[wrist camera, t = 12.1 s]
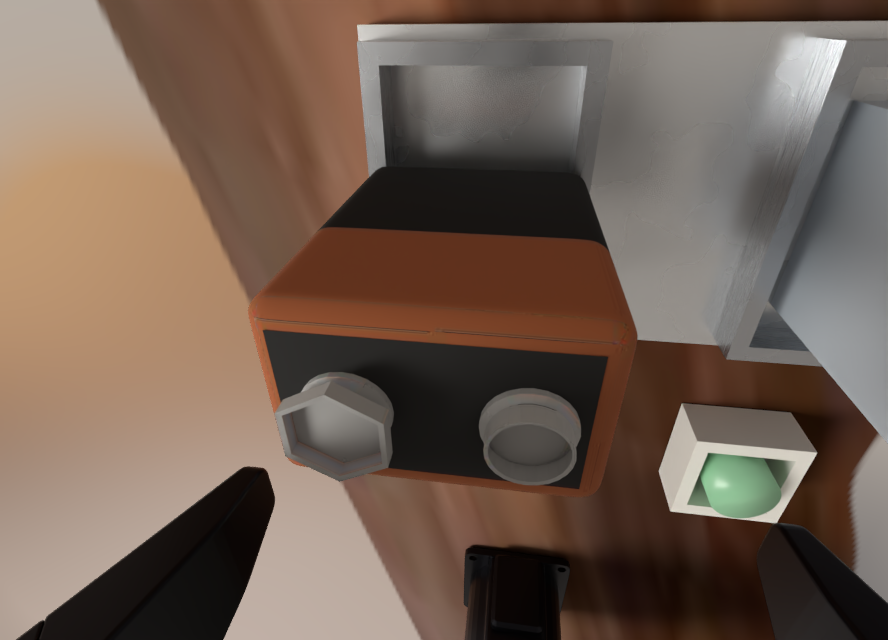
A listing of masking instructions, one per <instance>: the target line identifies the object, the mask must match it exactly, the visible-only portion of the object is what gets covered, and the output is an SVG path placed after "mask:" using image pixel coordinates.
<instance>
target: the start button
mask: <svg viewBox="0 0 888 640" xmlns="http://www.w3.org/2000/svg"><path fill="white" fill-rule="evenodd" d="M699 476H700V478H701V481H702V484H703V486H704V489H705V492H706V494H707V497H708V500H709V502H710V505H711V507H712V508H713V509H714V510H715V511H716V512H718V513H719V514H722V515H724V516H727V517H732V518H750V517H756V516H759V515H762V514H765V513H767V512H769V511H770V510H772V509H773V508H774V507H776V505H777V504H778V503H779V502H780V499H781V490H780V487H779V486H778V484H777V482H776V480H775V478H774V476H773V474H772V473H771V471H770V469H769V467H768V465H767V463H766V461H765V459H764V458H758V457H748V456H738V455H728V454H717V453H708V454H707V457H706V459H705V462H704V464H703V466H702V469H701V471H700V474H699Z"/></svg>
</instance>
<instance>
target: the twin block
mask: <svg viewBox="0 0 888 640" xmlns="http://www.w3.org/2000/svg"><path fill="white" fill-rule="evenodd" d="M771 305H772V306H773V308H774V309H775V310H776V311H777V312H778V314H779V315H780V316H781V317H782V318H783V319H784V321H785V322H786V323H787V324H788V325H789V327H790V328H791V329H792V330H793V331H794V333H795V334H796V335H797V336H798V337H799V339H800V340H801V341H802V342H803V343H804V344H805V346H806V347H807V348H808V349H809V350H810V352H811V353H812V354H813V355H814V356H815V358H816V359H817V360H818V361H819V362H820V364H821V365H822V366H823V367H824V368H825V369H826V371H827V372H828V373H829V374H830V375H831V377H832V378H833V379H834V380H835V381H836V383H837V384H838V385H839V386H840V387H841V389H842V390H843V391H844V392H845V393H846V394H847V396H848V397H849V398H850V399H851V400H852V402H853V403H854V404H855V405H856V406H857V408H858V409H859V410H860V411H861V412H862V414H863V415H864V416H865V417H866V418H867V419H868V421H869V422H870V423H871V424H872V425H873V427H874V428H875V429H876V430H877V431H878V433H879V434H880V435H881V436H882V437H883V439H884V440H885V441H886V442H887V443H888V101H857V100H854V103H853V105H852V108H851V110H850V113H849V115H848V117H847V120H846V122H845V125H844V127H843V130H842V132H841V135H840V137H839V139H838V142H837V144H836V147H835V149H834V152H833V154H832V156H831V159H830V161H829V164H828V166H827V169H826V171H825V173H824V176H823V178H822V181H821V183H820V186H819V188H818V190H817V193H816V195H815V198H814V200H813V203H812V205H811V208H810V210H809V212H808V215H807V217H806V220H805V222H804V225H803V227H802V229H801V232H800V234H799V237H798V239H797V242H796V244H795V246H794V249H793V251H792V254H791V256H790V259H789V261H788V263H787V266H786V268H785V271H784V273H783V276H782V278H781V281H780V283H779V285H778V288H777V290H776V293H775V295H774V298H773V300H772V302H771Z"/></svg>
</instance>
